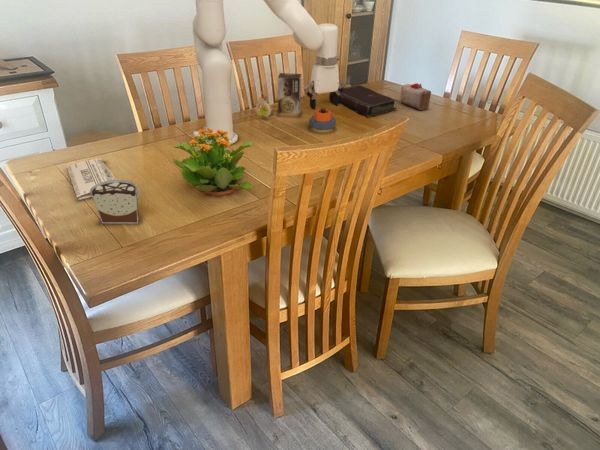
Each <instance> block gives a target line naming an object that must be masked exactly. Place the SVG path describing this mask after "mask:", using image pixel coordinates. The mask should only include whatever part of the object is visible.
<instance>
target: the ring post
mask: <svg viewBox="0 0 600 450" xmlns="http://www.w3.org/2000/svg"><path fill="white" fill-rule="evenodd" d="M320 109H321V110H320V113H326V109H327V108H325V107H321V108H320ZM309 127H310V128H312V129H314V130H316V129H315V128H313V127H311V126H310V125H309ZM335 127H336V125H335V126H334V127H333V128H332V129H334V128H335ZM318 130H320V131H322V130H321V129H318ZM328 130H330V129H326V130H325V131H328Z"/></svg>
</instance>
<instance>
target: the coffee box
mask: <svg viewBox="0 0 600 450" xmlns="http://www.w3.org/2000/svg"><path fill="white" fill-rule="evenodd" d="M301 105H302V74H301V73H287V72H286V73H284V72H279V74H278V76H277V113H279V114H293V115H294V114H295V115H300V113H301V110H302V108H301Z"/></svg>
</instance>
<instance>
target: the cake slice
mask: <svg viewBox="0 0 600 450" xmlns="http://www.w3.org/2000/svg"><path fill="white" fill-rule="evenodd" d="M89 193H90V196H91V195H92V197H91V198H92V200H93V204H94V206H95V208H96V211H97V213H98V216H99V218H100V222H101V224H129V225H130V224H139V222H140V216H139V215H140V214H139V199H138V198H139V197H140V196H141V193H140V190H139V187H138V185H137V184H136V183H135V182H133V181H131V180H128V179H120V178H119V179H117V178H116V180H108V181H104V182H101V183H98V184H96V185H95V186H93V187H92V188H91V189H90V192H89Z"/></svg>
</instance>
